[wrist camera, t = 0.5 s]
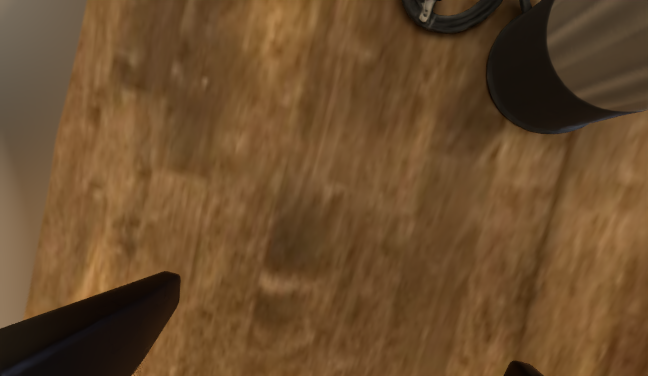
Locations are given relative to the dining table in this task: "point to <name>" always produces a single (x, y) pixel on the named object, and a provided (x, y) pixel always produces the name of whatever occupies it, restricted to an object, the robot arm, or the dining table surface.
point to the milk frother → (559, 59)
